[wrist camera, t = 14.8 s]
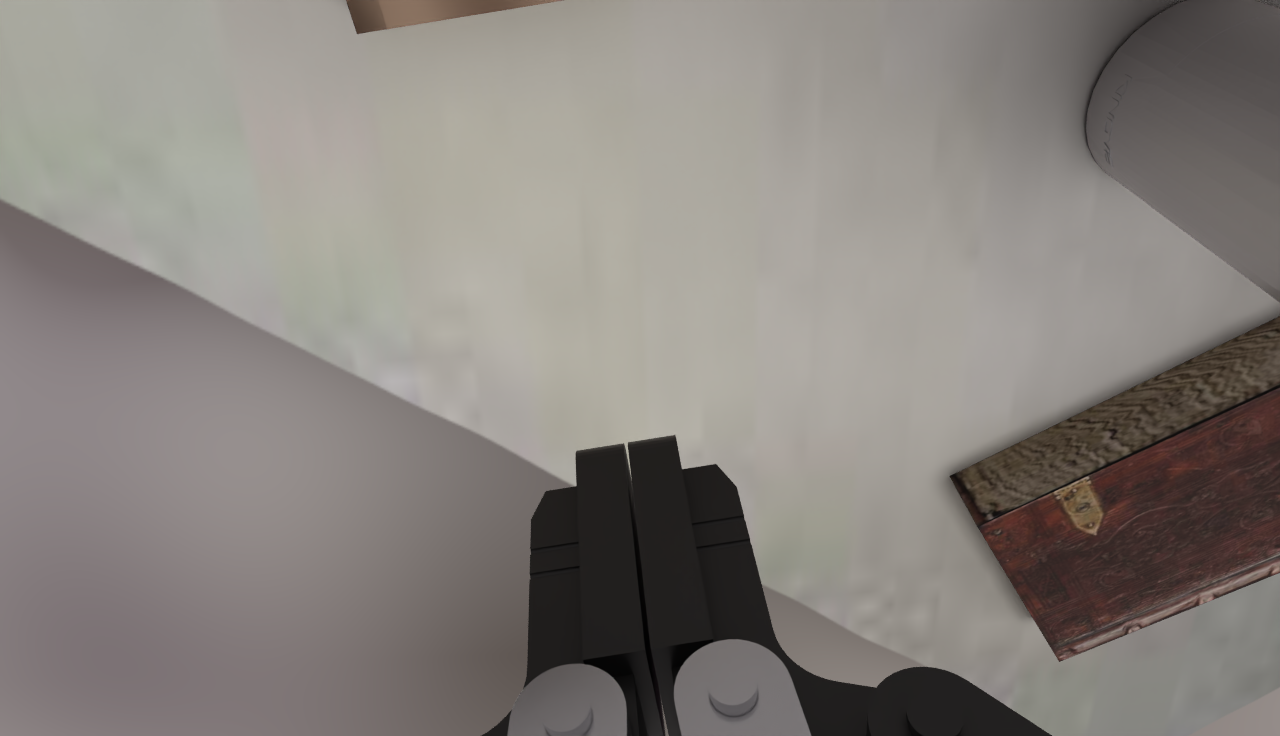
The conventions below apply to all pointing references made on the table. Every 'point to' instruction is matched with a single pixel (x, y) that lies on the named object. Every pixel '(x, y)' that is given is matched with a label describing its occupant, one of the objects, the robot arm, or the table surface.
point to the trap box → (422, 11)
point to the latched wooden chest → (1141, 498)
